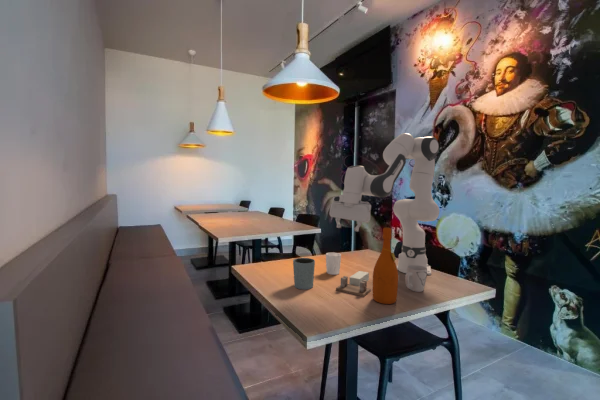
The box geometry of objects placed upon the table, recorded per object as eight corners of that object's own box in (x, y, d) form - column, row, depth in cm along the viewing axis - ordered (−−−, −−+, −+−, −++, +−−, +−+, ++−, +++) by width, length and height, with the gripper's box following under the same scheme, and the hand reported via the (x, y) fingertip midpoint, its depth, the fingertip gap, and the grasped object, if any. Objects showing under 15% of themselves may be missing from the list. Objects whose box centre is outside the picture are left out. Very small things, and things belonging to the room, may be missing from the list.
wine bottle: (382, 306, 117) (385, 229, 115) (367, 297, 126) (369, 226, 124) (402, 303, 121) (405, 228, 119) (386, 294, 130) (388, 225, 128)
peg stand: (343, 285, 140) (343, 274, 140) (370, 291, 133) (371, 280, 133) (336, 290, 134) (336, 279, 133) (364, 296, 127) (364, 285, 126)
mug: (413, 295, 129) (414, 272, 129) (397, 289, 137) (398, 267, 136) (430, 290, 136) (431, 268, 135) (414, 284, 143) (415, 264, 142)
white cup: (339, 275, 154) (340, 256, 154) (324, 274, 156) (325, 255, 155) (341, 271, 162) (341, 252, 161) (326, 270, 164) (326, 251, 163)
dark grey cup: (304, 291, 131) (304, 264, 130) (287, 286, 138) (288, 260, 137) (319, 286, 139) (319, 260, 138) (302, 280, 145) (303, 256, 145)
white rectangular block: (359, 278, 151) (359, 270, 151) (368, 280, 148) (368, 272, 148) (349, 285, 141) (349, 277, 141) (359, 287, 138) (359, 279, 138)
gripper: (375, 202, 135) (370, 233, 135) (337, 198, 149) (333, 226, 149) (368, 201, 131) (364, 233, 131) (329, 197, 144) (325, 225, 144)
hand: (347, 229), depth 140 cm, fingers open, 8 cm apart
